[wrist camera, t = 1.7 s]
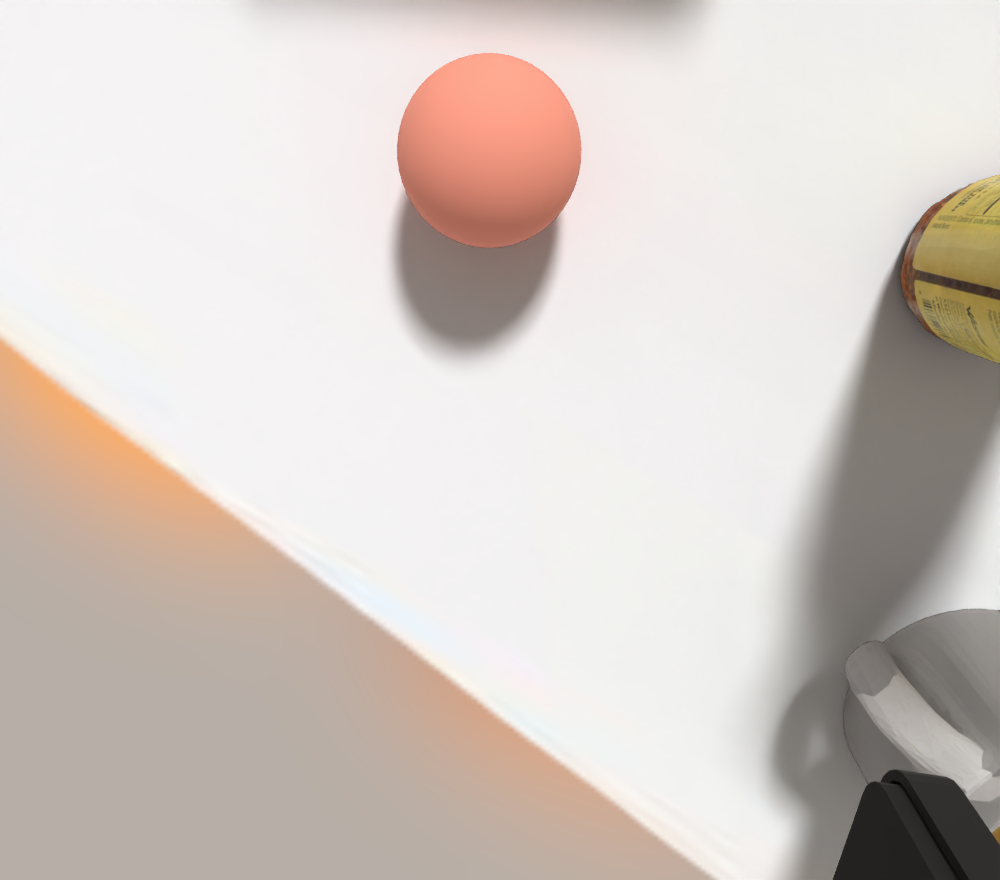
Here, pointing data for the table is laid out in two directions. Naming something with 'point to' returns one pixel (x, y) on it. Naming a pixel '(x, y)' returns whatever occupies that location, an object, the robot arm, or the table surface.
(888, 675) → the coffee mug
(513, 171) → the ball
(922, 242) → the sauce bottle
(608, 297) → the table surface
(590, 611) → the table surface
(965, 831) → the robot arm
